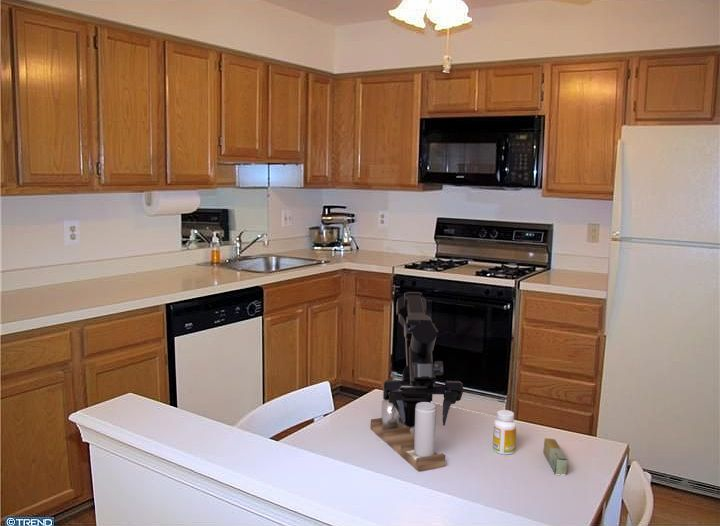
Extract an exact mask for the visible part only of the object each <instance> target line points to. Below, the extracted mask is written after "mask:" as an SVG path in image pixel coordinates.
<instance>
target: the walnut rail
mask: <svg viewBox="0 0 720 526" xmlns="http://www.w3.org/2000/svg"><path fill="white" fill-rule="evenodd" d="M381 420H382V417H379V418H378V417H377V418H373V419H372V418H371V419H370V430H371V431H372V432H373V433H374V434H375V435H377V436H378V438H380V439H381V440H383V442H385V444H387V446H389V448H391V449H392V450H393V451H395V453H397V454H398V455H399V456H400V457H402V459H404V460H405V461H406V462H407V463H408V464H409V465H410V466H411V467H413V468H414V469H415V470H416V471H417V472H418V473H420V472H426V471H430V470H435V469H440V468H444V467H445V468H446V454H445V453H443V452H441V453H437V452H436V451H435V453H434V455H431V456H426V457H418V456H417V455H416V454H415V452H414V440H415V434H413V433H412V432H411V427H408V426H404V425H401V424H400V423H399V428H395V429H389V430H382V429H381Z"/></svg>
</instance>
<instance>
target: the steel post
mask: <svg viewBox="0 0 720 526" xmlns="http://www.w3.org/2000/svg"><path fill="white" fill-rule="evenodd" d="M399 417H400V415H399V413H398V411H397V409H396V408H395V406H394V405H393V403H389V400H384V399H383V400H382V401H381V418H382V420H381V429H382V430H389V429H395V428H399V424H400V420H399Z"/></svg>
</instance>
